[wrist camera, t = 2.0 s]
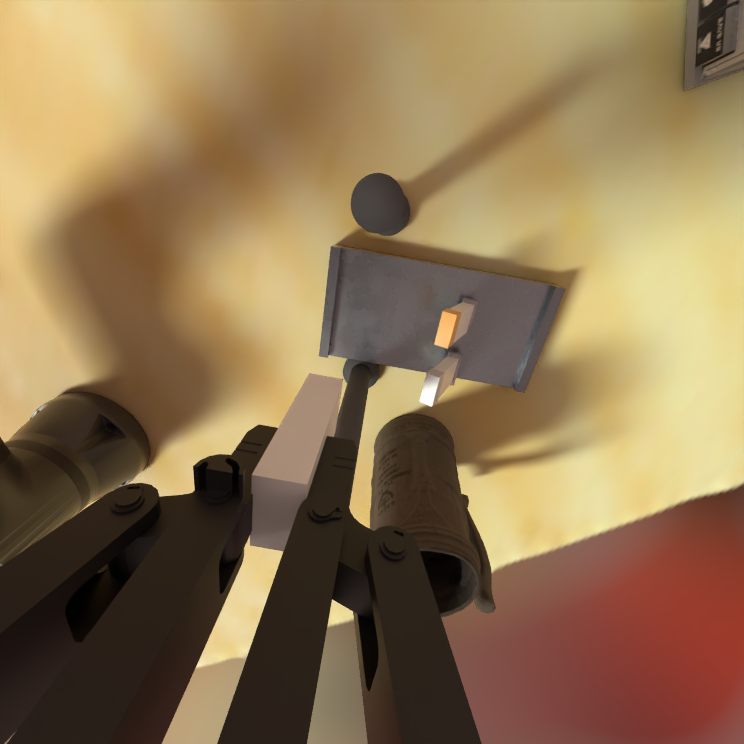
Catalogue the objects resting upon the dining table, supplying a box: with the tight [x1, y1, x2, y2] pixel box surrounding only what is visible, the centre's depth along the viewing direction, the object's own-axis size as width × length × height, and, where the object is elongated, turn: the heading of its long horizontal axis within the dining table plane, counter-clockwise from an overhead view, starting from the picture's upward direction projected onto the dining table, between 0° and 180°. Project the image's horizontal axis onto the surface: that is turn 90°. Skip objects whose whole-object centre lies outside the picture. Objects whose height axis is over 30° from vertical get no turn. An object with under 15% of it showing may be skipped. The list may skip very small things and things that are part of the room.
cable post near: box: [351, 173, 410, 236], centre depth 25 cm, size 4×4×22 cm
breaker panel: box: [319, 245, 565, 393], centre depth 38 cm, size 24×12×3 cm, turn 81°
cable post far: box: [334, 359, 379, 505], centre depth 33 cm, size 4×4×22 cm
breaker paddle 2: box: [420, 350, 463, 407], centre depth 36 cm, size 2×4×8 cm, turn 171°
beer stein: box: [370, 415, 496, 617], centre depth 39 cm, size 15×11×20 cm
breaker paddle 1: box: [434, 298, 479, 349], centre depth 33 cm, size 2×4×8 cm, turn 171°
